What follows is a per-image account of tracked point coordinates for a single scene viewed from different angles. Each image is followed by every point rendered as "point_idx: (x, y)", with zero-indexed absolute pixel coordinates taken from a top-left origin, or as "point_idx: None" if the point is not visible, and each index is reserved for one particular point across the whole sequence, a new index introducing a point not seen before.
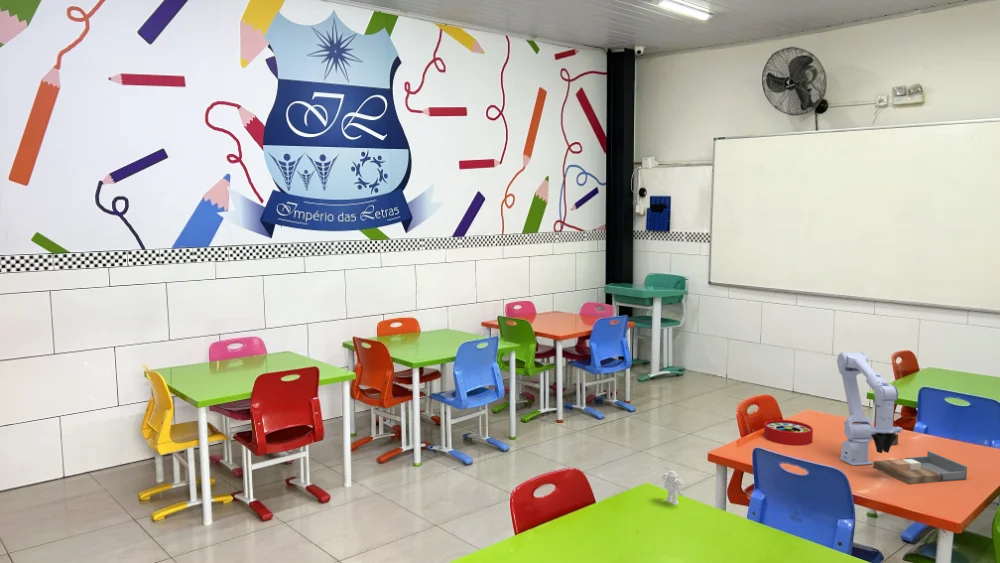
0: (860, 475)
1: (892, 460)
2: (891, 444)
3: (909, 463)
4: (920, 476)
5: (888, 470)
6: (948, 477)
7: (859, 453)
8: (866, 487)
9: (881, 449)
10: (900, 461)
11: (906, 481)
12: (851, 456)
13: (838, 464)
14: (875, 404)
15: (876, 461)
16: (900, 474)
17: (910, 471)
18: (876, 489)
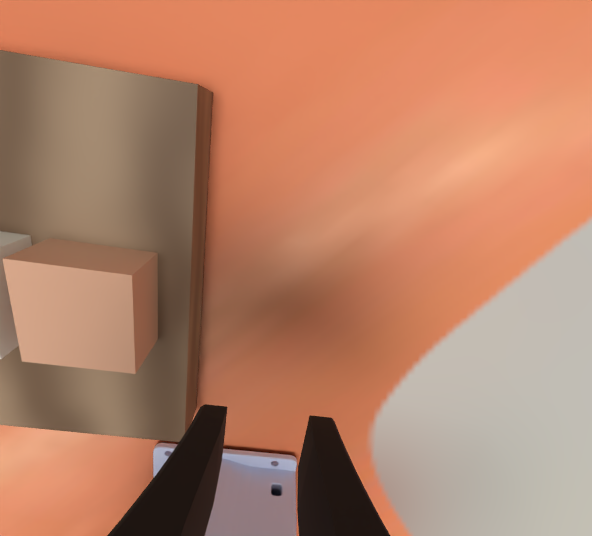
0: (394, 340)
1: (110, 368)
2: (119, 528)
3: None
4: (49, 61)
5: (193, 312)
6: None
7: (233, 530)
8: (586, 161)
9: (343, 462)
10: (49, 329)
11: (208, 115)
12: (293, 517)
13: None
14: None
15: (169, 434)
16: (196, 192)
17: (55, 206)
18: (565, 97)
